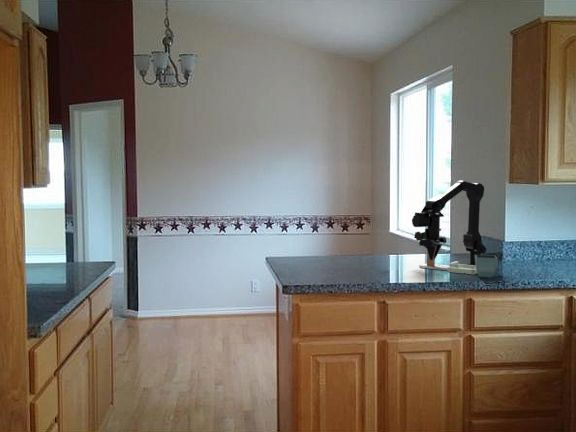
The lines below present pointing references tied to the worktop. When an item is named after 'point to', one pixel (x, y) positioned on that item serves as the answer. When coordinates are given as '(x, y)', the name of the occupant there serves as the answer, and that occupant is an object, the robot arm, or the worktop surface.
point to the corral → (460, 270)
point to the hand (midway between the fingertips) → (432, 259)
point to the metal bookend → (432, 265)
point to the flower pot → (486, 265)
